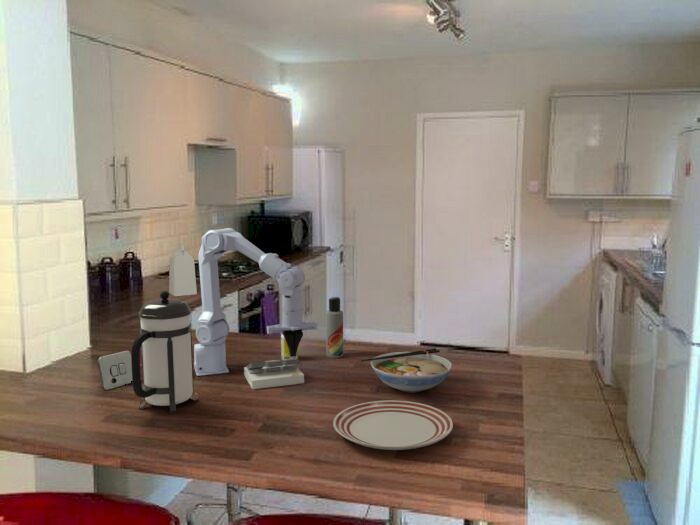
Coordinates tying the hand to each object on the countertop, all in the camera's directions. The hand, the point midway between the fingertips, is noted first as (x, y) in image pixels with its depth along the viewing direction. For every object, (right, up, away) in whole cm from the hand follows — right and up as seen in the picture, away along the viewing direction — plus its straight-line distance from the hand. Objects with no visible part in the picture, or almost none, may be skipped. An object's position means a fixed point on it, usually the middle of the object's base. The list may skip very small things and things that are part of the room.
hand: (292, 355), depth 167 cm
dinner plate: (+26, -13, -34) cm, 45 cm away
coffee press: (-31, -10, -18) cm, 37 cm away
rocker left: (-11, -4, 0) cm, 11 cm away
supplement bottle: (-3, -5, +22) cm, 23 cm away
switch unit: (-6, -7, +2) cm, 10 cm away
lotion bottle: (+11, -4, +26) cm, 29 cm away
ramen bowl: (+34, -9, -5) cm, 35 cm away
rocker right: (-1, -3, +4) cm, 5 cm away
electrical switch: (-51, -8, -2) cm, 51 cm away
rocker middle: (-6, -4, +2) cm, 7 cm away
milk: (-72, +10, +139) cm, 157 cm away
